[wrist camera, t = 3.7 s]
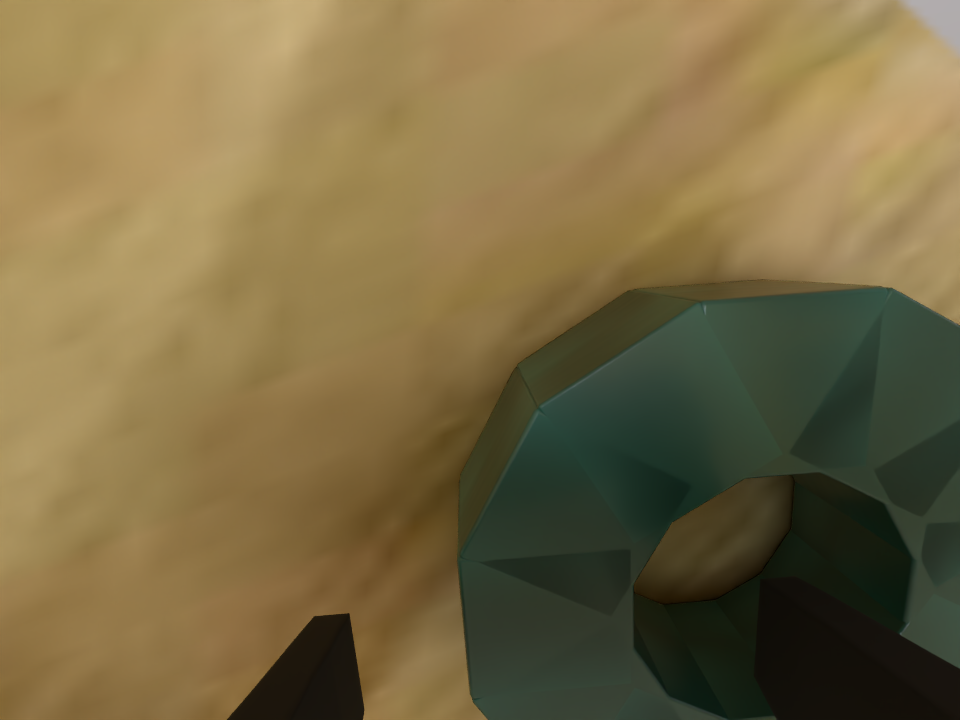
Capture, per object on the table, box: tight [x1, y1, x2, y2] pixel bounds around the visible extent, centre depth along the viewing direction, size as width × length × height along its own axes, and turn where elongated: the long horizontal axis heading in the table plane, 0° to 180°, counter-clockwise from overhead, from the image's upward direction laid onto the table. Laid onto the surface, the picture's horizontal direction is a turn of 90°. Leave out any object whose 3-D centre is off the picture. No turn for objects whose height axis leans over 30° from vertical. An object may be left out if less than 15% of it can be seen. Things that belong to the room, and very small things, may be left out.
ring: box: [457, 279, 960, 720], centre depth 10 cm, size 12×12×3 cm
